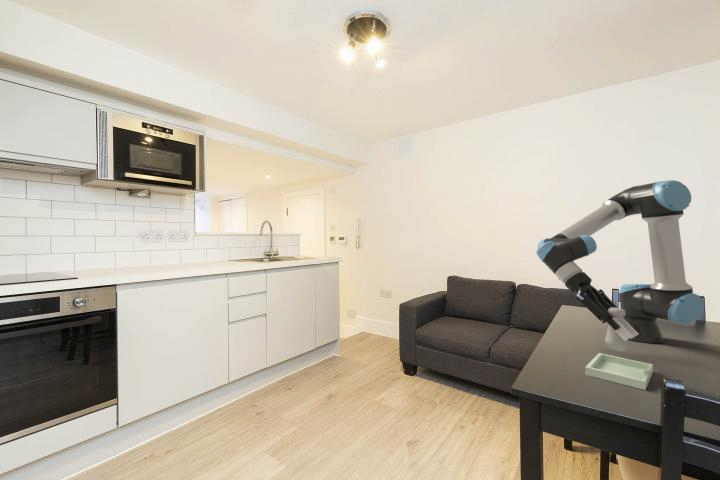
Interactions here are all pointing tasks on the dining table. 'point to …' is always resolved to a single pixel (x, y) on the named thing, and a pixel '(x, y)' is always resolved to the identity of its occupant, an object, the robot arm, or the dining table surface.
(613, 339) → the salt shaker
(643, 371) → the tray
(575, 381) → the dining table surface
